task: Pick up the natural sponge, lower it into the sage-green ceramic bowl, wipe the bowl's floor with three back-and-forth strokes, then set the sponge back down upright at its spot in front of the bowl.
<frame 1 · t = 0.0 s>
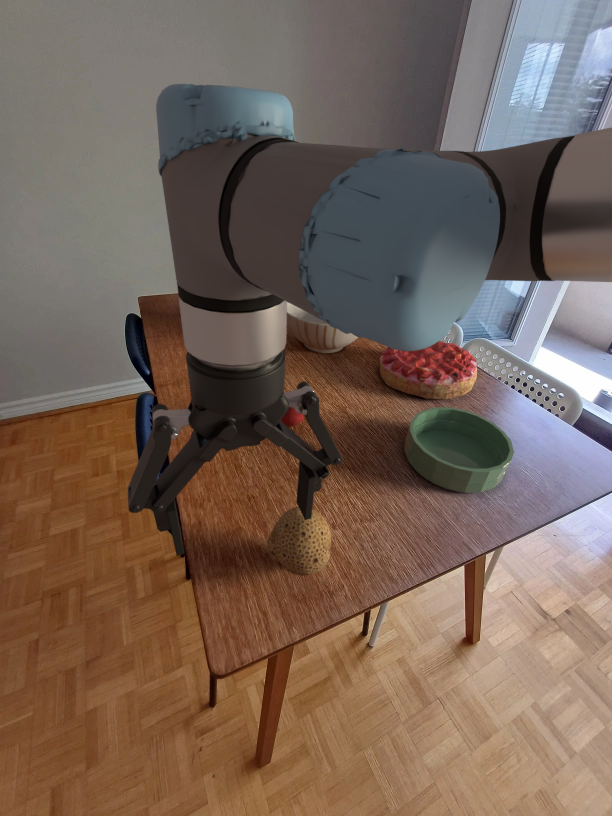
hand: (244, 526, 43), 19 cm above the table, tool pointing down, fingers open, 13 cm apart
natural sponge: (299, 563, 60), on the table
decorative bowl: (323, 344, 121), on the table
banana peel: (209, 327, 126), on the table
green bowl: (452, 458, 82), on the table
cake: (425, 378, 108), on the table
onion: (291, 426, 87), on the table
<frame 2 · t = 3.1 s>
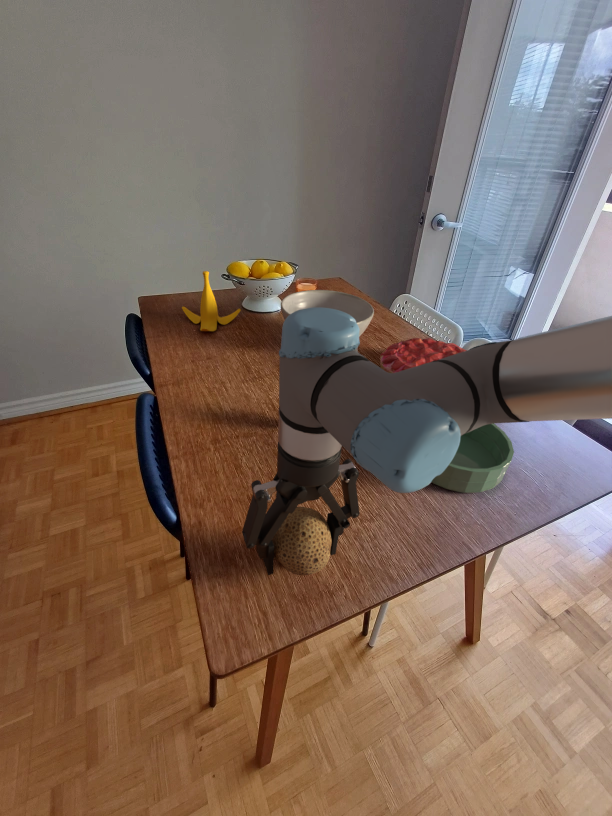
hand: (299, 556, 59), 2 cm above the table, tool pointing down, fingers closed on natural sponge, 9 cm apart
natural sponge: (300, 563, 60), on the table, touching gripper
everything else where it was.
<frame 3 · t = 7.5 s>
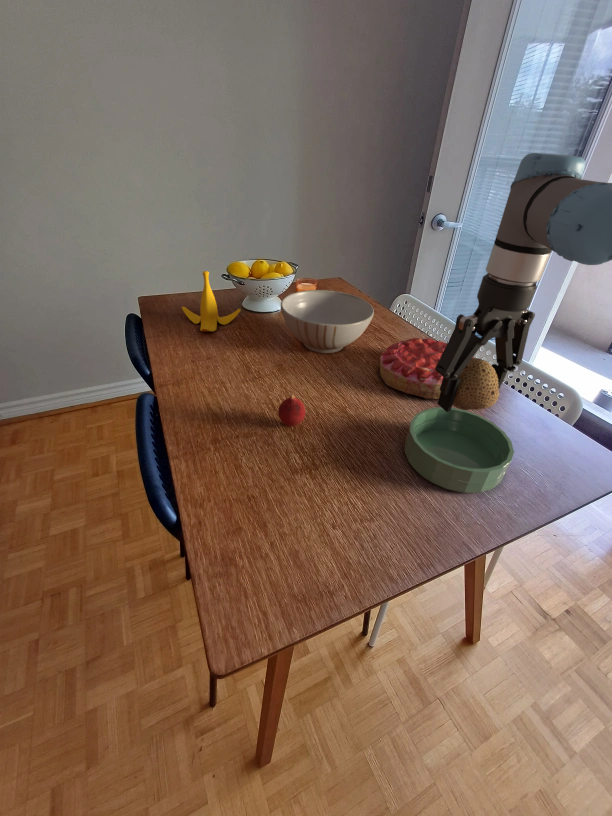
hand: (465, 402, 72), 15 cm above the table, tool pointing down, fingers closed on natural sponge, 9 cm apart
natural sponge: (463, 410, 73), point 13 cm above the table, touching gripper
everything else where it was.
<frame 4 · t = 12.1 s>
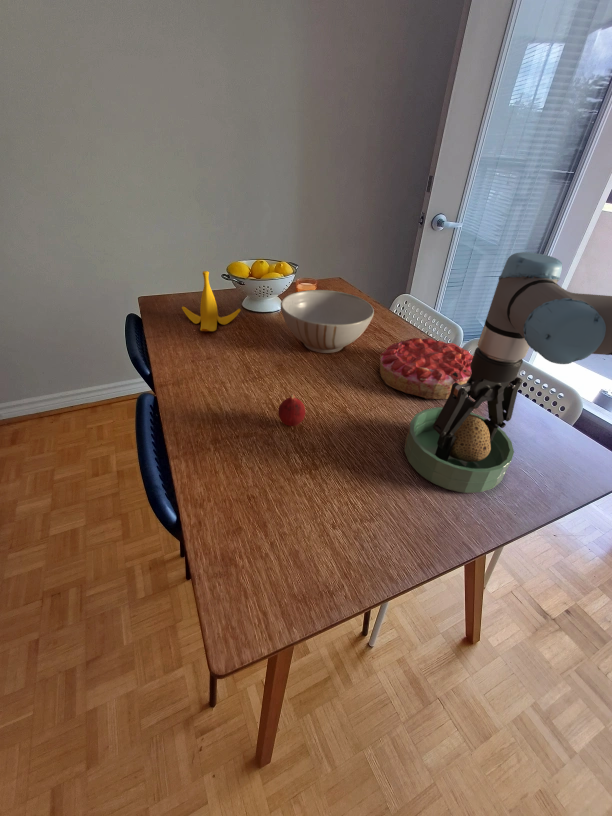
hand: (461, 453, 79), 3 cm above the table, tool pointing down, fingers closed on natural sponge, 9 cm apart
natural sponge: (459, 459, 80), point 1 cm above the table, touching gripper
everything else where it was.
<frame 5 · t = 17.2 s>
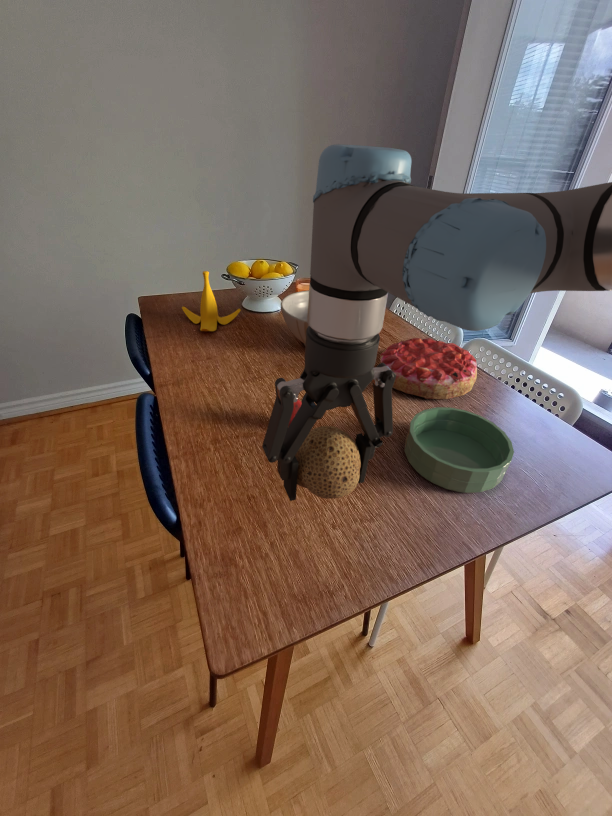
hand: (324, 484, 53), 15 cm above the table, tool pointing down, fingers closed on natural sponge, 9 cm apart
natural sponge: (324, 492, 54), point 13 cm above the table, touching gripper
everything else where it was.
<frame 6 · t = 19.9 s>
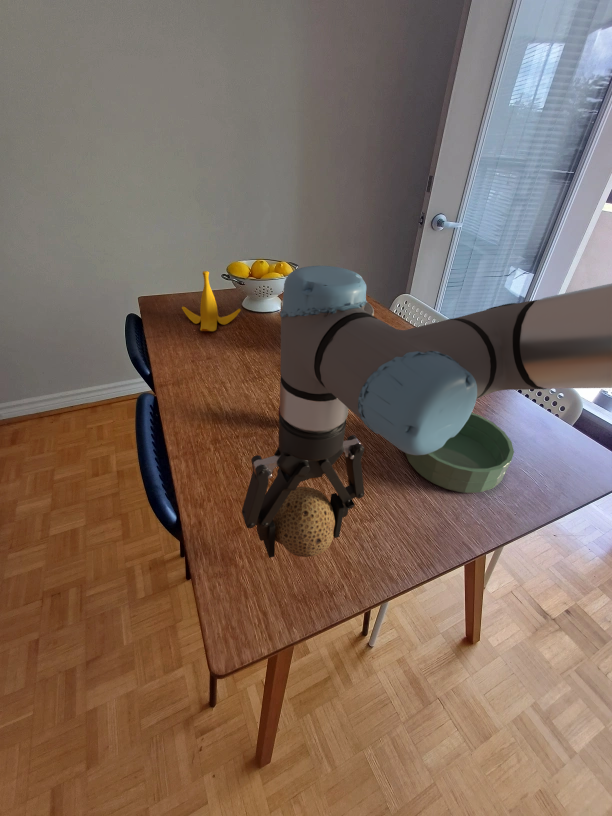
hand: (301, 539, 57), 6 cm above the table, tool pointing down, fingers closed on natural sponge, 9 cm apart
natural sponge: (302, 546, 58), point 4 cm above the table, touching gripper
everything else where it was.
when the fingers open (2 cm above the table, at t = 21.6 s): natural sponge stays where it is, on the table.
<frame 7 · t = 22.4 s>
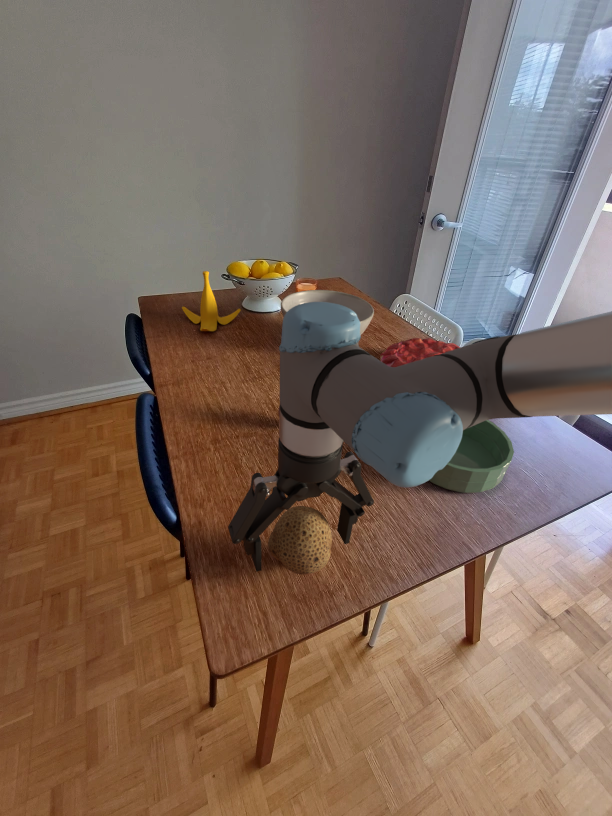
hand: (301, 549, 58), 3 cm above the table, tool pointing down, fingers open, 13 cm apart
natural sponge: (300, 562, 60), on the table
everything else where it was.
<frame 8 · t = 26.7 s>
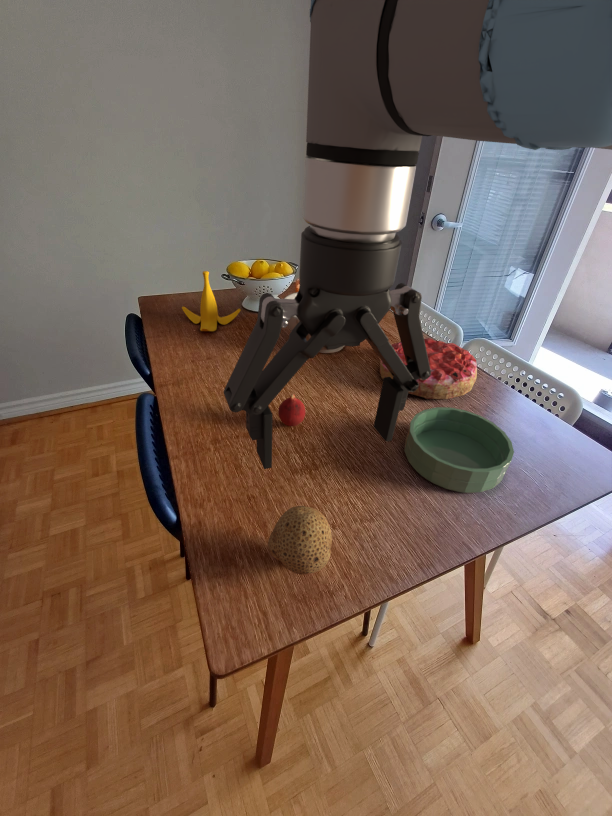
hand: (326, 446, 42), 27 cm above the table, tool pointing down, fingers open, 13 cm apart
nothing on the table moved.
at the end: natural sponge tilted 0°; the gripper is holding nothing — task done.
